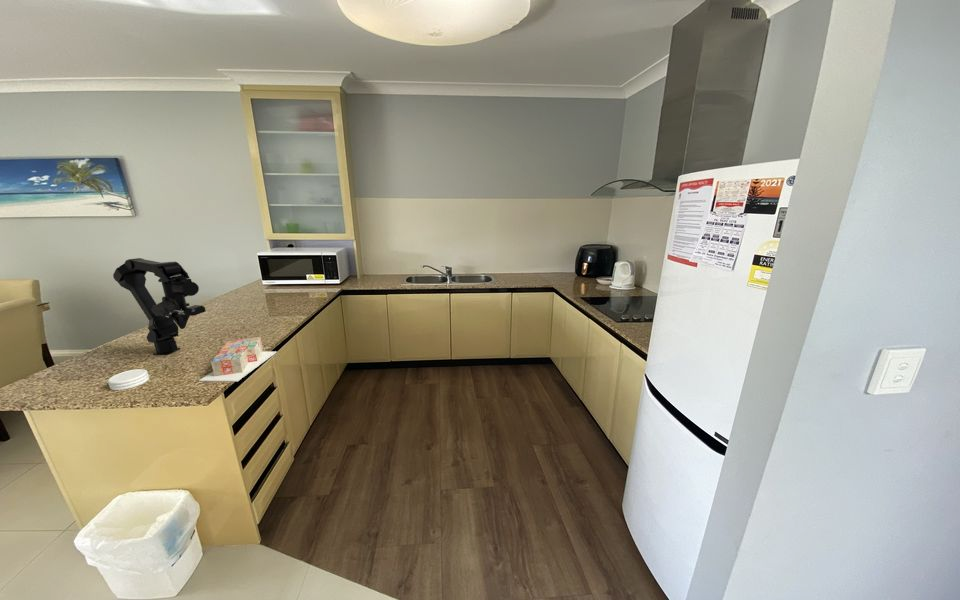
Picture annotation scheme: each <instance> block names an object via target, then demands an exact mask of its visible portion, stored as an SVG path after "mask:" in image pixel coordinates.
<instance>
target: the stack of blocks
mask: <svg viewBox="0 0 960 600" xmlns="http://www.w3.org/2000/svg"><path fill="white" fill-rule="evenodd" d="M262 351H264V348H263V342H262V337H261V336H257V337H248V338H241V339H233V340H228V341H226V342H225V344H224V345H223V347H221V348H220V350H219V352H218V353H217V354H216V355H215V356H214V358H213V359H211V360H212V361H211V362H210V364H211V368H212V372H214V376H218V375H226V374H232V373H241V372H243V371H244V369H245V368H246V366H247V364H248V362H252V361H257V360H258V358H259V356H260V354H261V352H262Z"/></svg>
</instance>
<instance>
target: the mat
mask: <svg viewBox="0 0 960 600" xmlns="http://www.w3.org/2000/svg"><path fill="white" fill-rule="evenodd" d="M275 354H277V351H264V350H262V352H261V354H260V356H259V358H258V360H257V361H252V362H248V364H247V366H246V368H245V369H244V371H243V372H241V373H232V374H226V375H218V376H214V372H213V371H211V372H209V373H208V374H207V375H205V376H203V377H202V378H201V379H199V380H198V381H199V382H223V383H224V382H228V383H229V382H230V383H231V382H233V383H235V382H236V383H238V382H239V381H240V380H242V378H245V377H246V376H247V375H248V374H250V373H251V372H252V371H254V370H255V369H256V368H258V367H260V365H262V364H263V363H264V362H266V361H267V360H269V359H270V358H271V357H272V356H274V355H275Z"/></svg>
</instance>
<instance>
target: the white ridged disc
mask: <svg viewBox="0 0 960 600" xmlns="http://www.w3.org/2000/svg"><path fill="white" fill-rule="evenodd" d="M149 380H150V376H149V372H148V370H146V369H144V368H143V369H142V368H136V369H129V370H126V371H123V372H119V373H116V374H114V375H112V376H111V377H109V378H108V380H107V384H108V386H109V389H110V390H112V391H123V390H130V389H133V388H136V387H139V386H141V385H144V384H145V383H147V382H148V381H149Z"/></svg>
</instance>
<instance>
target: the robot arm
mask: <svg viewBox="0 0 960 600" xmlns="http://www.w3.org/2000/svg"><path fill="white" fill-rule="evenodd" d="M148 272H149V273H153V274H154V276H156V277H157V278H158V280H157V281H158V283H161V285H162V286H161V287H162V288H163V289H162V290H163V293H164V296H162V297H161V301H160V302H158V303H157V302H156V301H155V299H154V298H153V297H152V295H151V293H150V292H149V290H148V289H147V287H146V286H145V285H146V281H147V278H146V274H147V273H148ZM112 276H113V279H114V281H116V282H117V283H118V284H119V285H120V287H121V288H124V289H126V290H127V291H129V292H130V293H131V294H132V296H133V298H134V300H135V301H136V302H137V304H138V305H139V307H140V309H141V310H142V312H143V313H144V315H145V317H146V318H147V319H148V325H147V329H148V330H149V332H148V334H147V335H146V339H147V342H148V343H152V344H154V349H155V352H154V353H152V354H153V355H154V356H155V355H156V356H158V355H161V356H162V355H165V356H166V355H167V356H168V355H170V354H173V353H175V352H176V351H180V349H181V347H178V345H177V342H176V340H175V337H178V336H179V329H180V330H184V329H185V328H186V326H187V324H188V321H189V319H190V317H193V316H197V315H200V314H202V313H206V306H204V305H199V304H194V305H192V306H191V305H190V303H187V300H186V297H190V296H191V297H193V296H196V295H197V294H198V292H199V290H200V288H199V285H198V284H197V283H196V282H194V281H192V279H191V278H190V275H189V273H188V272H187V271H186V270H185V269H184V267H183V266H182V265H181V264H180V263H179V262H177V261H164V262H160V261H154V260H149V259H144V258H141V257H137V258H130V259H126V260H125V262H124V263H123V264H121V265H119V266H118V267H117V268H116V269H115V271H114V272H113V275H112Z"/></svg>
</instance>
